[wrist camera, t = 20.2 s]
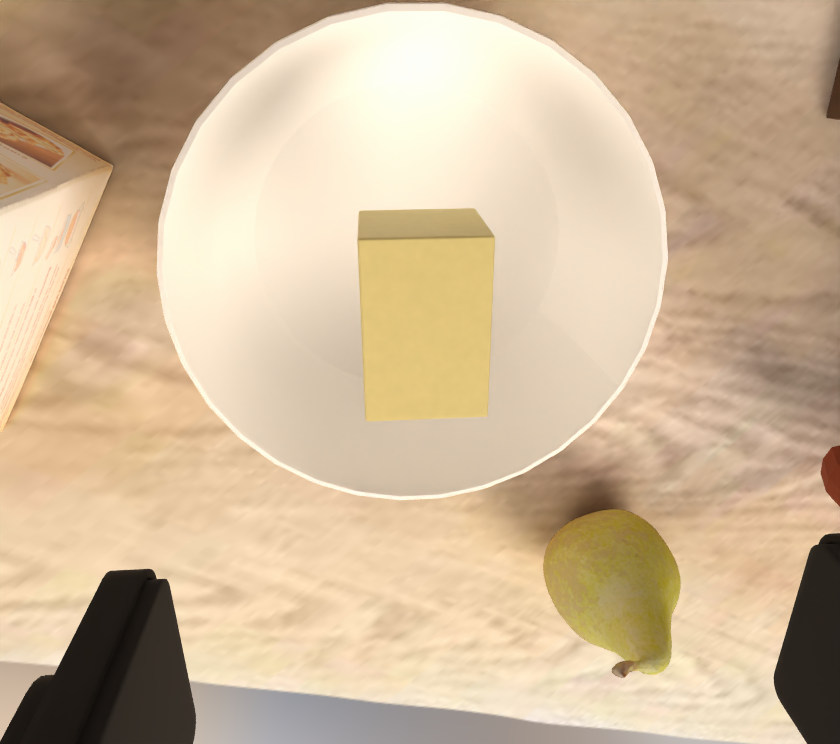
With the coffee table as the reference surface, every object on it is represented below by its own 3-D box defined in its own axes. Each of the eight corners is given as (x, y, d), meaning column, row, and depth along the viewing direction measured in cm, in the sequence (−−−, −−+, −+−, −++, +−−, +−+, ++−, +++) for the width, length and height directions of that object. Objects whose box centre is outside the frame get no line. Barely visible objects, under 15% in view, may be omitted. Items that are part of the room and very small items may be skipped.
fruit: (586, 599, 41) (666, 796, 30) (499, 534, 39) (552, 723, 28) (673, 529, 39) (791, 712, 28) (588, 457, 37) (681, 626, 26)
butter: (358, 210, 23) (357, 238, 20) (475, 207, 23) (496, 235, 20) (365, 370, 26) (365, 422, 22) (471, 367, 26) (488, 417, 22)
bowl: (302, -84, 26) (280, -131, 19) (685, 149, 30) (773, 175, 24) (143, 326, 32) (86, 397, 25) (481, 467, 37) (506, 558, 30)
